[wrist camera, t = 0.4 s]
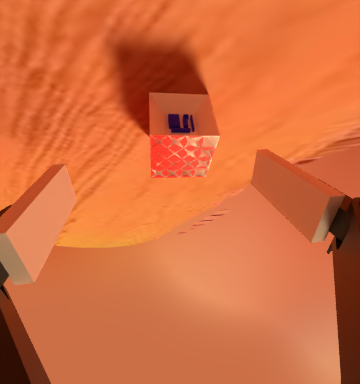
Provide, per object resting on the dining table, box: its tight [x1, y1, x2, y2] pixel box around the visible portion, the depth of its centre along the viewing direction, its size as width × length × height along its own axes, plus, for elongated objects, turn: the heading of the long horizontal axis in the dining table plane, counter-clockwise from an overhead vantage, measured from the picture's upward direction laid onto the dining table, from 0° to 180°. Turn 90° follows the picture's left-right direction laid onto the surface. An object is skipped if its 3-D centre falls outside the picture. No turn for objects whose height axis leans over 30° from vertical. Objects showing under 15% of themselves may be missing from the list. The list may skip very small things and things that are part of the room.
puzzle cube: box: [149, 92, 220, 178], centre depth 28 cm, size 8×8×8 cm
